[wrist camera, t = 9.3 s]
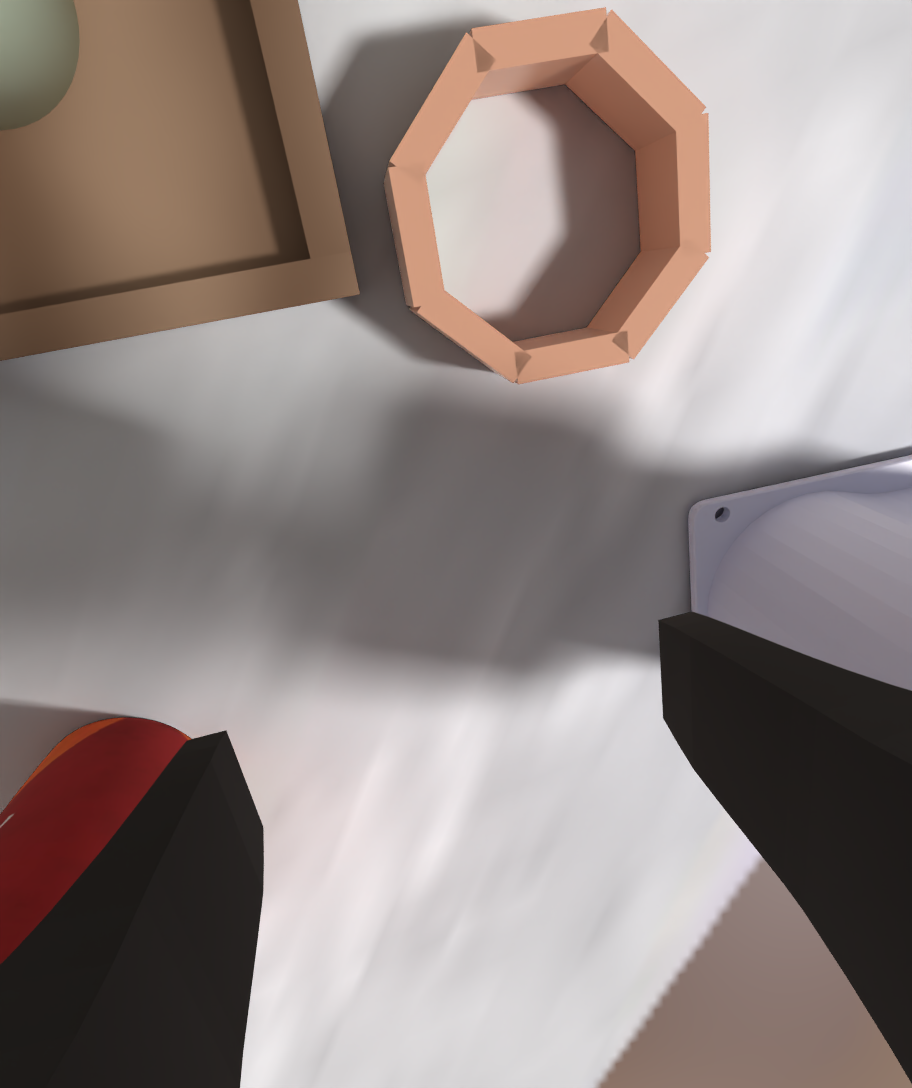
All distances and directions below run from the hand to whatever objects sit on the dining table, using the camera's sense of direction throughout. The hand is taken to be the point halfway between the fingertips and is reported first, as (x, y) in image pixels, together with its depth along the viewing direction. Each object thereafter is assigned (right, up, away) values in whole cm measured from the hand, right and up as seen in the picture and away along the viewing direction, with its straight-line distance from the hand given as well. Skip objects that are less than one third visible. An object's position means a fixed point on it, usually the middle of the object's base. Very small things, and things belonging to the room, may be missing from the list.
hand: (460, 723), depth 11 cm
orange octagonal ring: (+2, +12, +7) cm, 14 cm away
